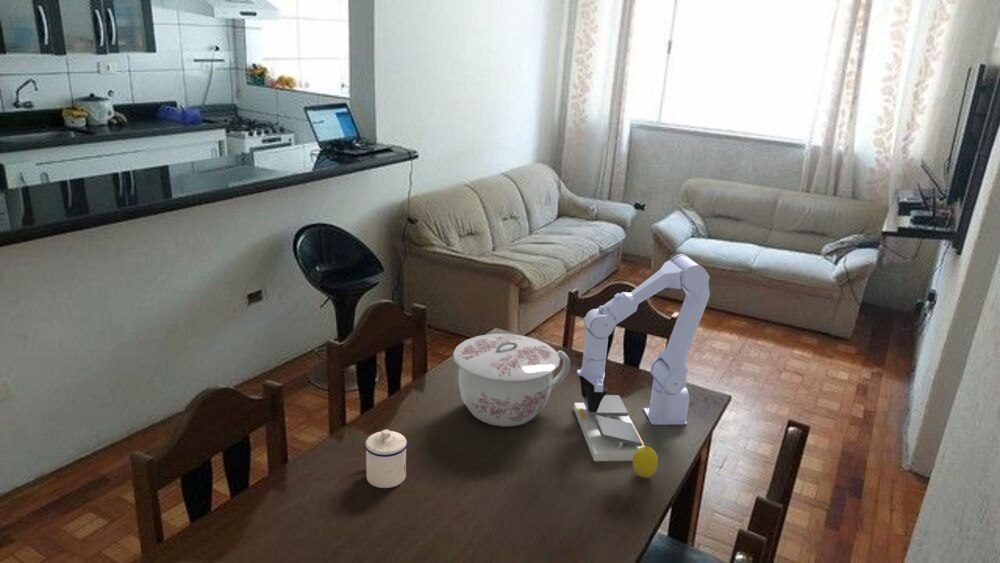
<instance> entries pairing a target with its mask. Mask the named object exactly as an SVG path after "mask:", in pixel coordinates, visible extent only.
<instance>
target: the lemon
mask: <svg viewBox="0 0 1000 563" xmlns="http://www.w3.org/2000/svg"><path fill="white" fill-rule="evenodd" d="M658 463H659V459H658V455H657V452H656V451H655V450H654V449H653V448H652V447H650V446H645V447H641V448H639V449H638V450H637V451H636V453H635V455H634V458H633V461H632V468H633V470H634V472H635V473H636V474H637V475H638V476H639V477H641V478H650V477H651V476H653V475H654V474H655V473H656V471H657V469H658Z"/></svg>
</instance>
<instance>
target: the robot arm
mask: <svg viewBox="0 0 1000 563" xmlns="http://www.w3.org/2000/svg"><path fill="white" fill-rule="evenodd" d="M710 278H711V277H710V275H709V273H708V272H707V270H706V269H705V267H703V266H701V264H700V265H699V264H698V263H696V261H694V260H692V259H691V258H690V257H689V256H688V255H686V254H683V253H681V254H677V255H675V256H673V257H672V258H671V259H670V260H667V261H665V262H664V263H663V265H662V266H661V267H660V269H659V270H657V271H656V272H655V273H654V274H652V275H651V276H649V277H648V278H647V279H646V280H644V281H643V282H642V283H641V284H640V285H638V286H636V287H635V288H634V289H633V290H632V291H631V292H630V291H629V292H628V291H622V292H620V293H619V292H617V293H616V294H614V295H613V298H612V299H610V300H609V301H607V302H606V303H604V304H603V305H602V304H601V305H600V306H598V308H593V309H591V310H589V311H588V312H587V313H586V315H585V316H584V317H582V318H583V323H584V326H585V327H586V329H585V338H584V342H583V343H584V345H583V352H582V353H583V354H582V361H581V362H582V363H581V365H582V366H581V368H578V369H576V374H577V376H578V378H579V382H580V389H581V390H580V392H581V397H582V396H583V397H587V399H588V410H589V412H597V410H598V408H599V405H600V403H601V400H602V399H603V397H604V396H605V395H608V391H609V390H608V388H607V386H605V387H604V379H605V375H606V372H605V369H606V361H607V360H606V359H607V352H608V344H609V343H608V342H609V336H610V335H611V334H612V333H613V332H614V328H615V327H617V325H618V324H619V323H621V322H622V321H624V320H626V319H627V318H628V317H630V316H631V315H633V314H634V313H636V312H637V310H638V306H639V304H641V303H642V302H644V301H645V300H647V299H649V298H650V297H653V296H654V295H656V294H657V293H659V292H661V291H663V290H664V289H667V288H668V289H669V288H670V289H677V290H681V289H682V290H683V291H684V293H685V297H684V299H683V303H682V305H681V308H680V310H679V313H678V316H677V319H676V322H675V324H674V326H673V329H672V332H671V335H670V337H669V340H668V343H667V345H666V348H665V349H664V350H662V351H659V353H658V356H657V358H655V360H654V361H653V362H652V363H651V365H650V374H651V375H652V376H653V380H652V387H651V394H650V401H649V407H643V411H644V413H645V415H646V416H647V418H648V420H649V422H650V423H651V425H653V426H655V425H658V426H659V425H661V426H664V425H668V426H670V425H673V426H674V425H687V424H688V422H687V418H688V411H689V404H690V395H689V394H690V393H689V390H688V388H687V387H686V386H687V374H688V371H689V370H688V368H689V367H688V363H687V357H688V354H689V351H690V348H691V346H692V343H693V340H694V338H695V336H696V333H697V330H698V328H699V325H700V323H701V319H702V317H703V315H704V312H705V310H706V307H707V305H708V301H709V299H710V296H711V292H710V285H709V284H710V283H709V282H710Z"/></svg>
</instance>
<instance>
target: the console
mask: <svg viewBox="0 0 1000 563" xmlns="http://www.w3.org/2000/svg"><path fill="white" fill-rule="evenodd" d="M573 411H574V413H575V416H576V418H577V421H578V423H579V427H580V428H581V432H582V433H583V436H584V439H585V441H586V443H587V446H588V450H589V452H590V454H591V457H592V460H593V462H621V461H622V462H627V461H628V462H631V461H632V462H633V458H634V455H635V453H636V451H637V450H638V449H639V448H641V447H646V445H645V443H644V442H643V440H642V438H641V436H640V434H639V432H638V431H637V429H636V427H635V425H634V423H633V420H632V419H631V418H630V415H629V414H628V416H610V418H611V419H615V420H620V421H624V422H628V423H632V425H633V427H634V429H635V431H636V433H637V435H638V437H639V438H640V440H641V442H642V445H641V447H639V446H635V445H630V444H626V443H623V445H622V446H620V444H619V442H617V441H613V440H609V439H605V438H602V437H601V434H600V432H599V430H598V427H597V425H596V423H595V420H594V416H589V414H588V411H587V409H586V407H585V404H584V402H574V404H573ZM603 417H606V416H603Z"/></svg>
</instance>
